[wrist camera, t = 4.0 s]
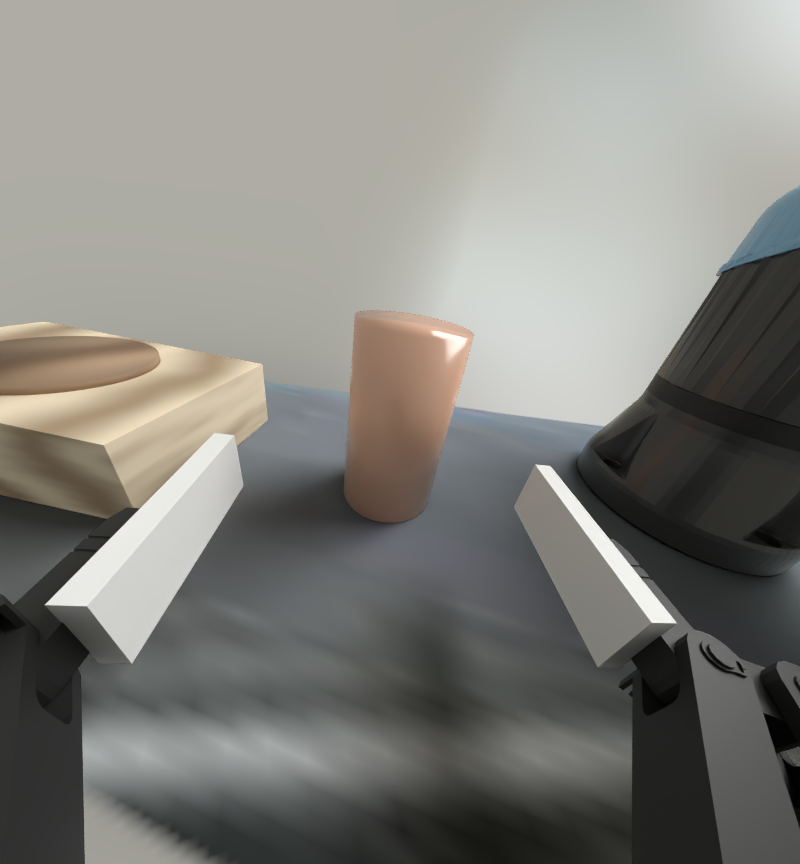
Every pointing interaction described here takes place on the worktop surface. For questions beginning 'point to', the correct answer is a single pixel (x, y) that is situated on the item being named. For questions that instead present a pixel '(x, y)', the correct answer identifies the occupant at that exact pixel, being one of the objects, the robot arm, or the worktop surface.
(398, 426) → the slanted peach cylinder
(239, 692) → the worktop surface
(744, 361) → the robot arm
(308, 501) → the worktop surface
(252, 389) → the plinth
